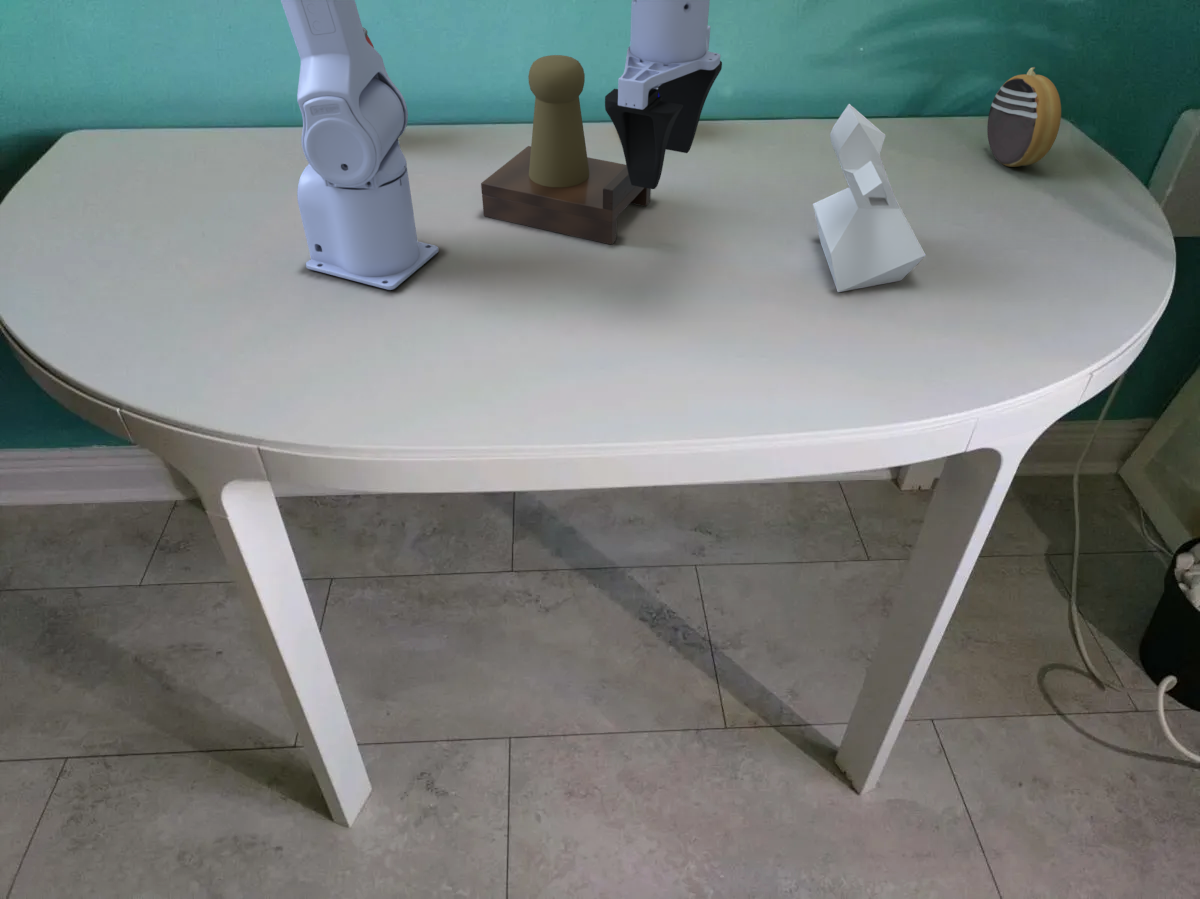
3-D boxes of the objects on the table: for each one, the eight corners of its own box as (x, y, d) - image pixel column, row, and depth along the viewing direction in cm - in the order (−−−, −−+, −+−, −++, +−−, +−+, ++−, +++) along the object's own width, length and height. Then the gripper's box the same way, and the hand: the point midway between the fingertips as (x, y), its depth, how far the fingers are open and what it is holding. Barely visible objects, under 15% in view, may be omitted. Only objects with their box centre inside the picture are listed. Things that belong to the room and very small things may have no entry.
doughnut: (974, 146, 102) (1000, 56, 96) (1003, 145, 103) (1032, 55, 96) (1015, 181, 95) (1047, 87, 89) (1047, 179, 96) (1081, 85, 89)
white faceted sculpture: (886, 225, 88) (920, 83, 79) (922, 300, 77) (966, 147, 68) (801, 224, 88) (825, 82, 79) (825, 299, 77) (856, 145, 68)
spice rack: (483, 216, 88) (478, 163, 85) (529, 177, 95) (527, 126, 92) (611, 245, 84) (612, 190, 81) (650, 201, 91) (652, 150, 87)
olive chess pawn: (582, 190, 85) (581, 72, 78) (521, 184, 86) (515, 67, 79) (595, 164, 90) (595, 50, 82) (537, 159, 90) (532, 46, 83)
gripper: (689, 20, 58) (676, 213, 67) (753, -31, 68) (734, 143, 77) (591, 7, 60) (591, 195, 69) (667, -41, 70) (658, 129, 79)
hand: (661, 167), depth 73 cm, fingers open, 7 cm apart
